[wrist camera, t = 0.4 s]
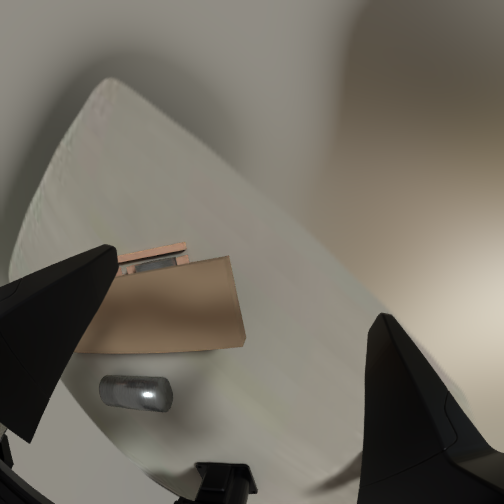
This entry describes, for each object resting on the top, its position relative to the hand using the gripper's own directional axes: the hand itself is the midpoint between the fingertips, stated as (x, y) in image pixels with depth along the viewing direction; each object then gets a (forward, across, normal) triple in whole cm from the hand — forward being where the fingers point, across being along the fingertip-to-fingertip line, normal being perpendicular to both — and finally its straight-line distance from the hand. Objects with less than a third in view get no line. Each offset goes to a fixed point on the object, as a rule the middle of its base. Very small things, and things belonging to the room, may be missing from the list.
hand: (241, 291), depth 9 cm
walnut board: (+6, +9, +11) cm, 15 cm away
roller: (+5, +9, +22) cm, 24 cm away
